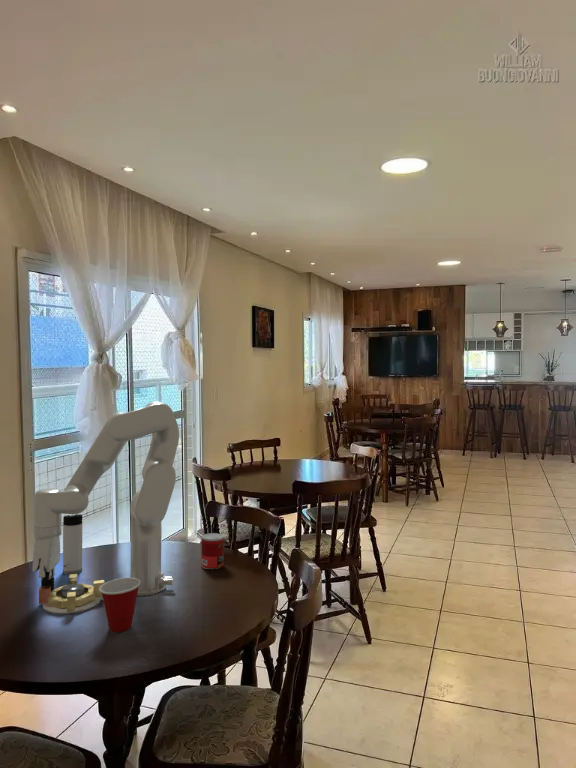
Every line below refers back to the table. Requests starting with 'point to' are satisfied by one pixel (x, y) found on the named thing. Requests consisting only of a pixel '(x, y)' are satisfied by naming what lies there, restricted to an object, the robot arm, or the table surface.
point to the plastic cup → (120, 602)
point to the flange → (64, 590)
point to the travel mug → (72, 544)
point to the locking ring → (69, 595)
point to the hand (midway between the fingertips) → (47, 591)
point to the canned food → (212, 550)
